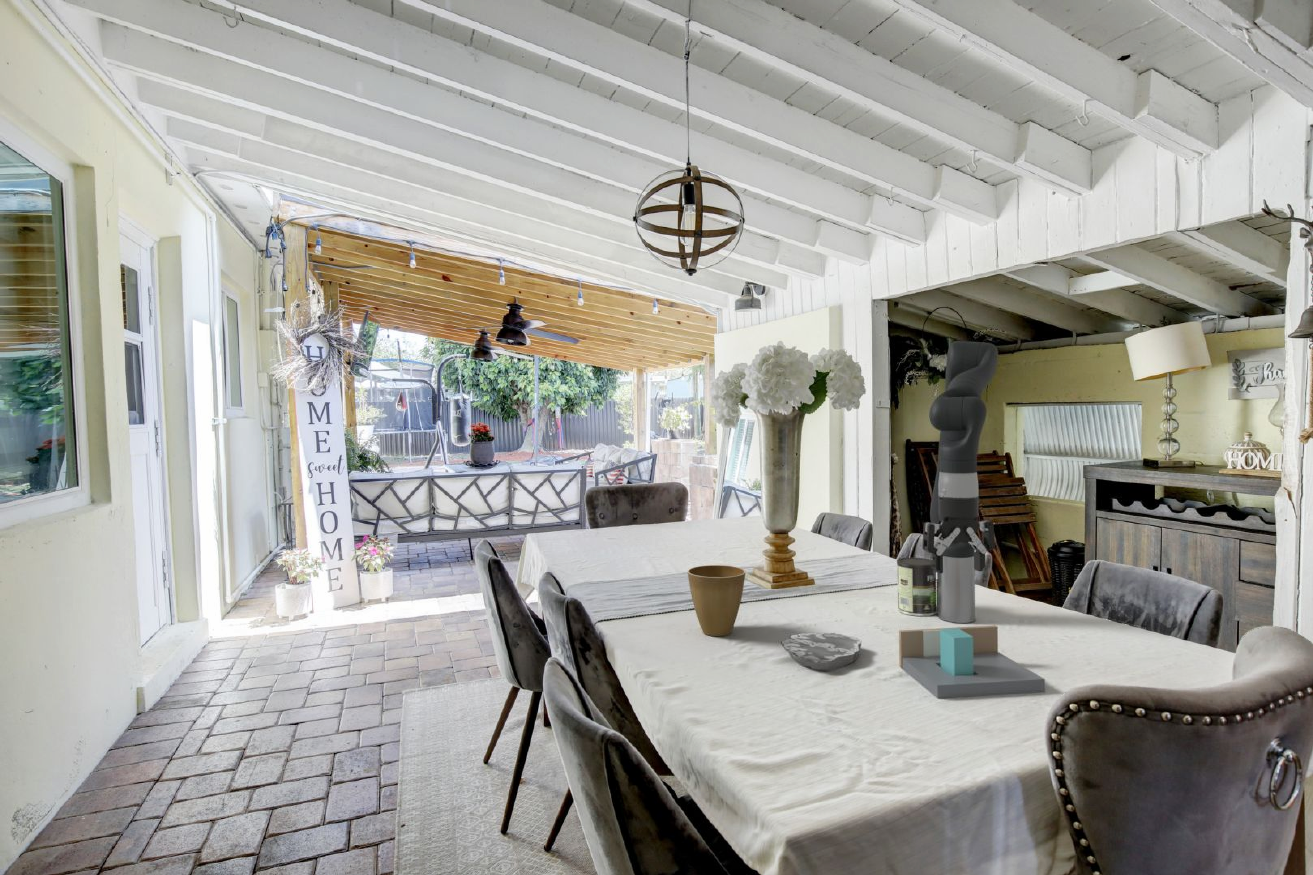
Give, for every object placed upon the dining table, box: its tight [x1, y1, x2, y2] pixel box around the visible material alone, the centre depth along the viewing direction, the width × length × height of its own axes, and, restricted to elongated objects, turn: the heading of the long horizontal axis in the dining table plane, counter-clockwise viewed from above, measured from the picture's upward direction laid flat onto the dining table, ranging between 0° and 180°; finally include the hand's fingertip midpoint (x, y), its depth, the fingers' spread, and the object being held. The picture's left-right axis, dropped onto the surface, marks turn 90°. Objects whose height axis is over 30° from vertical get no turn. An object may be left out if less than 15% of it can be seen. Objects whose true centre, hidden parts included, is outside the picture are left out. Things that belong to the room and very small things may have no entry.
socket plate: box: [898, 625, 1046, 699], centre depth 138 cm, size 16×22×8 cm
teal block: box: [940, 627, 973, 676], centre depth 137 cm, size 6×4×10 cm
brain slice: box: [780, 632, 862, 672], centre depth 153 cm, size 20×17×3 cm
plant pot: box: [687, 564, 746, 637], centre depth 172 cm, size 15×15×16 cm
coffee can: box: [896, 557, 937, 617], centre depth 186 cm, size 10×10×14 cm
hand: (958, 571), depth 138 cm, fingers open, 8 cm apart
